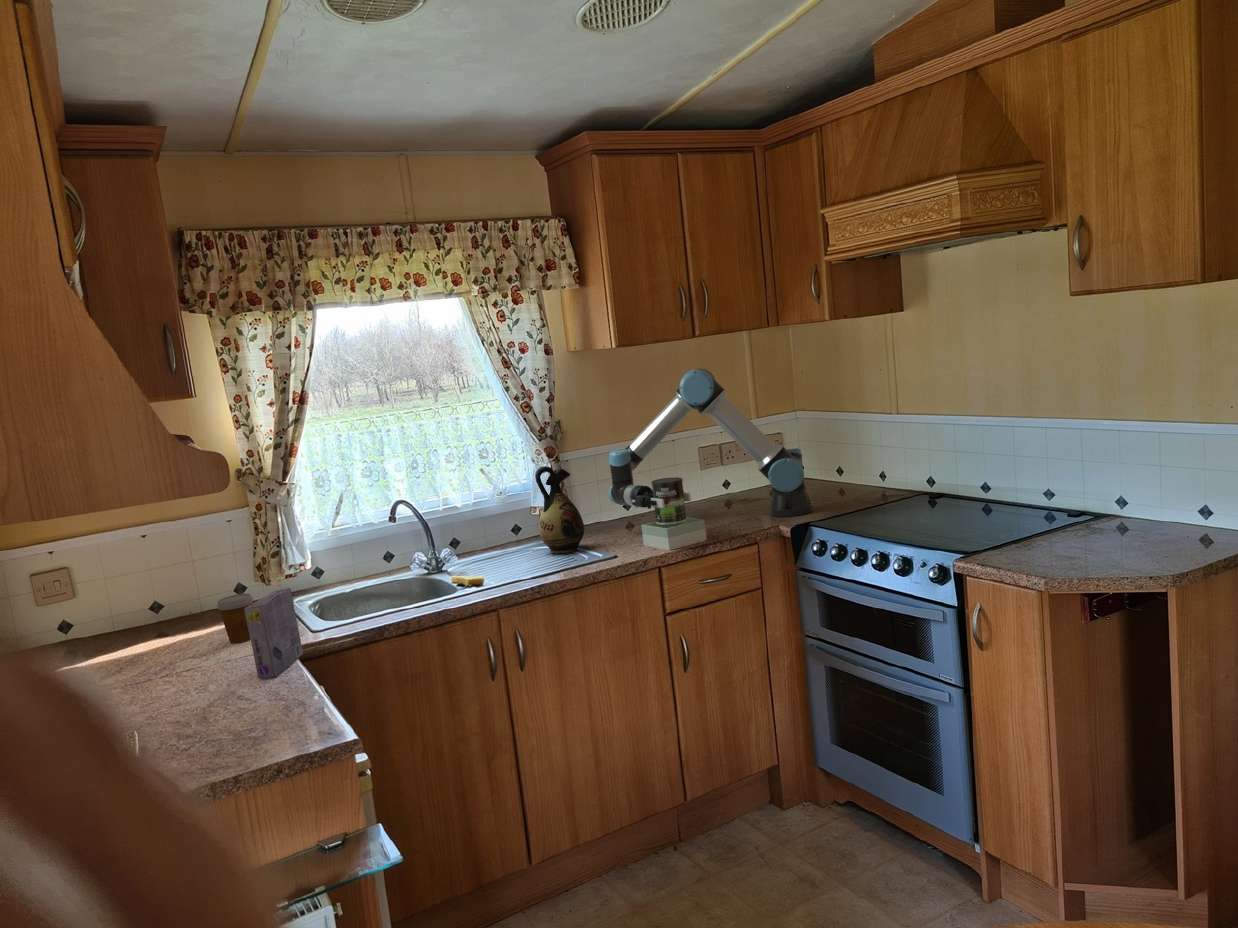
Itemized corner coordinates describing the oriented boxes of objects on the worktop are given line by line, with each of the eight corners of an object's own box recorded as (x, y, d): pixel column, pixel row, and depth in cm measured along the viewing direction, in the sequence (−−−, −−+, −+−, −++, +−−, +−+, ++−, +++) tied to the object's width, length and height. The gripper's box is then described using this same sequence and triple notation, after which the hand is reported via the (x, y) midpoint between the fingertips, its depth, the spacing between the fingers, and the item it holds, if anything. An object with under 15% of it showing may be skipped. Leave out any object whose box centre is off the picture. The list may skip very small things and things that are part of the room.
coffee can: (684, 523, 308) (679, 481, 306) (653, 526, 311) (648, 483, 309) (689, 517, 318) (684, 476, 316) (659, 519, 321) (654, 478, 319)
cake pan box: (287, 655, 241) (275, 587, 239) (306, 652, 241) (294, 585, 239) (255, 681, 222) (242, 608, 220) (276, 678, 222) (263, 605, 220)
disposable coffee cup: (231, 647, 256) (223, 604, 255) (218, 642, 263) (210, 600, 262) (265, 636, 262) (258, 594, 261) (252, 632, 269) (244, 591, 268)
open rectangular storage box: (679, 535, 325) (677, 516, 324) (706, 540, 313) (704, 519, 312) (643, 545, 318) (641, 525, 317) (669, 550, 305) (666, 529, 304)
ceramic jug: (576, 543, 336) (564, 460, 333) (593, 549, 322) (581, 462, 319) (531, 553, 329) (519, 468, 326) (547, 559, 315) (534, 471, 312)
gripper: (667, 500, 335) (705, 505, 316) (613, 513, 323) (649, 518, 304) (664, 479, 334) (702, 482, 315) (610, 491, 322) (646, 495, 303)
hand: (676, 500), depth 310 cm, fingers closed on coffee can, 10 cm apart
